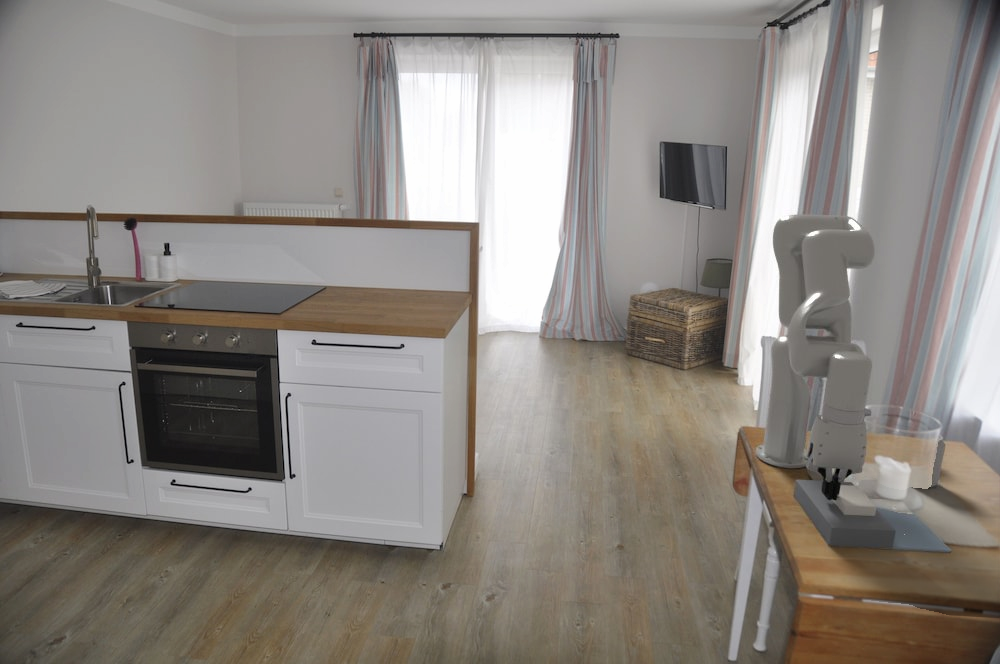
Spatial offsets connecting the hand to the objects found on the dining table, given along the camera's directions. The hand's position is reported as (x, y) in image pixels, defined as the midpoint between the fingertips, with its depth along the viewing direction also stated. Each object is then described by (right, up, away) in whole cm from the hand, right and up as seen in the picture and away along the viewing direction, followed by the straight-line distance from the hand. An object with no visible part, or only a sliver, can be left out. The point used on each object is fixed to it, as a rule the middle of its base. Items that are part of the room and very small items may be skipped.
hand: (829, 496), depth 143 cm
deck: (+3, -5, +1) cm, 6 cm away
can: (+30, -1, +19) cm, 36 cm away
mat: (+14, -6, +1) cm, 15 cm away
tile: (+4, -1, 0) cm, 5 cm away
